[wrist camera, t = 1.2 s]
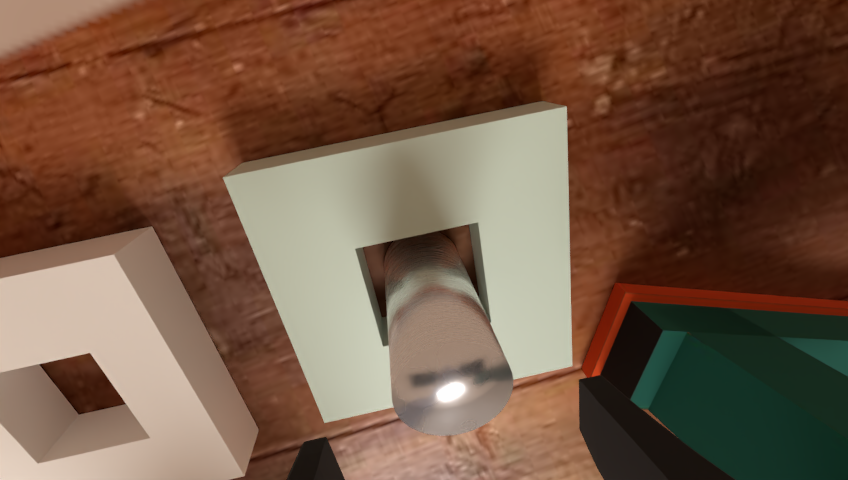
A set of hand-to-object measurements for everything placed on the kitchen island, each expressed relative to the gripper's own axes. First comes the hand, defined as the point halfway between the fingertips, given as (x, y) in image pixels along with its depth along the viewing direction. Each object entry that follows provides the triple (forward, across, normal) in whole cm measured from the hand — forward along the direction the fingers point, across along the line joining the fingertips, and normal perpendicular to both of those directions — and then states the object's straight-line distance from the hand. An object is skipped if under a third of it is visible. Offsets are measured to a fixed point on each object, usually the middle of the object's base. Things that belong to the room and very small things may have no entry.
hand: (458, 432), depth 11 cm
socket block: (+11, 0, 0) cm, 11 cm away
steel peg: (+11, 0, 0) cm, 11 cm away
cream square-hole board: (+10, +18, +2) cm, 21 cm away
